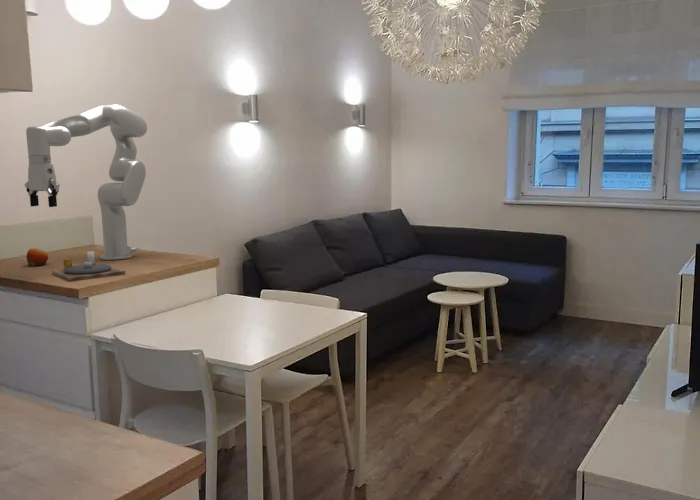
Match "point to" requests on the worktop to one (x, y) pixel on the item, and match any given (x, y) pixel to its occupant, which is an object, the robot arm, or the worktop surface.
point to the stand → (73, 277)
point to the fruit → (36, 257)
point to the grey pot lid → (88, 267)
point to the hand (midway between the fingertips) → (43, 206)
